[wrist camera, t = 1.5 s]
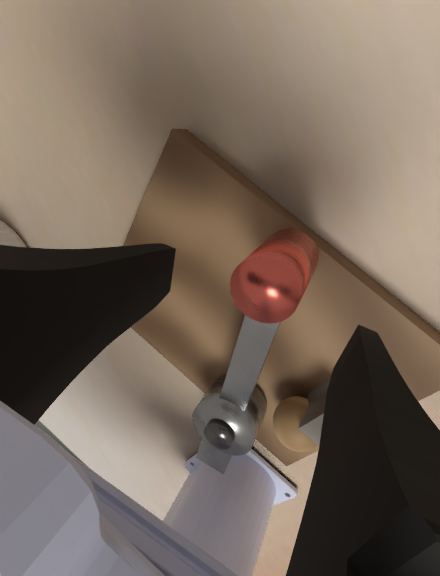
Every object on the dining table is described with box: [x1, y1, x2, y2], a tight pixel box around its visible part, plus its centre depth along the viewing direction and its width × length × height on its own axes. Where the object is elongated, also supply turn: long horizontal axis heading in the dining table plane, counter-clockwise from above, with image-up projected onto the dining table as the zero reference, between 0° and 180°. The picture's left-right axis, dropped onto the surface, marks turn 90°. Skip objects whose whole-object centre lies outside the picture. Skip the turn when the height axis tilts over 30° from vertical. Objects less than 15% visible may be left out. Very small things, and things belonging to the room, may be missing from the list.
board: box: [124, 129, 440, 466], centre depth 19 cm, size 15×20×5 cm
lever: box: [192, 229, 319, 475], centre depth 18 cm, size 18×4×5 cm, turn 167°
